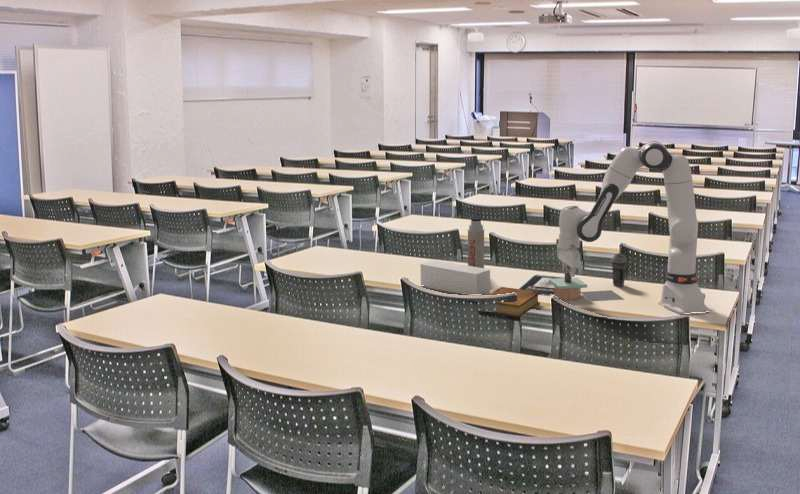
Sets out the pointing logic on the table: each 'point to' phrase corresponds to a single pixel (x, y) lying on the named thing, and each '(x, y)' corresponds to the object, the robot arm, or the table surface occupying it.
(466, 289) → the white oblong block
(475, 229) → the thermos bottle
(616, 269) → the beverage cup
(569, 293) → the bowl
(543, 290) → the sketchbook
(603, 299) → the mat
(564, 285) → the teal square knobbed lid
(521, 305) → the diary
